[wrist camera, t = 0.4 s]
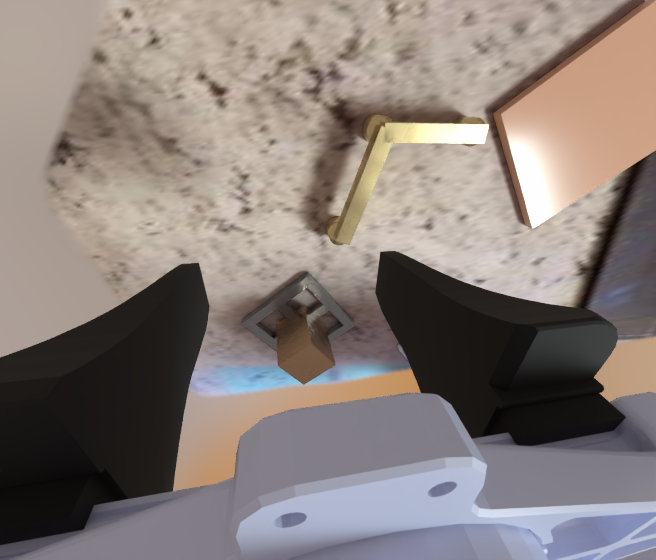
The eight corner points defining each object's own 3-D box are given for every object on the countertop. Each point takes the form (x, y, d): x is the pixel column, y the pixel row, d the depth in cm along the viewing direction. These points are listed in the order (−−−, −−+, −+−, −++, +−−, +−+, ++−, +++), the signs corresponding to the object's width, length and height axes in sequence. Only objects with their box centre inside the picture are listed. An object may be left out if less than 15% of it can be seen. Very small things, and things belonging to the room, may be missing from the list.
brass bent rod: (476, 136, 20) (500, 141, 18) (333, 241, 22) (340, 255, 20) (448, 52, 17) (472, 46, 15) (287, 182, 19) (289, 192, 17)
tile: (645, 147, 22) (657, 149, 22) (525, 225, 24) (532, 228, 24) (646, 0, 17) (661, -4, 17) (492, 113, 19) (501, 114, 18)
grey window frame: (354, 321, 27) (370, 363, 22) (294, 360, 28) (299, 407, 24) (308, 271, 23) (317, 311, 19) (241, 319, 24) (236, 366, 20)
